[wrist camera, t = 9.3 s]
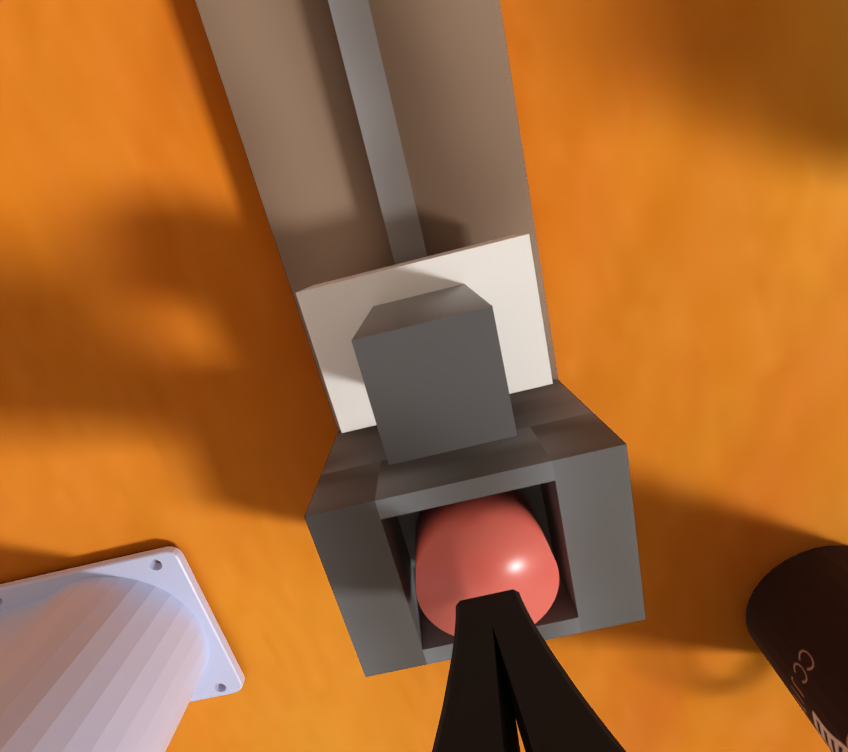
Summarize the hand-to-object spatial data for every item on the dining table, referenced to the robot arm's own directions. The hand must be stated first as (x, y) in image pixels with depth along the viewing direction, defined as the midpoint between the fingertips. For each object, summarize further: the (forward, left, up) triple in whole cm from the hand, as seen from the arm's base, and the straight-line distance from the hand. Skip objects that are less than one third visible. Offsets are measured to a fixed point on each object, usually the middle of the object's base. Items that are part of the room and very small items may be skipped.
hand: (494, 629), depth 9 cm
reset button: (0, 0, -2) cm, 2 cm away
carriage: (0, +6, -6) cm, 8 cm away
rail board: (0, +7, -8) cm, 11 cm away
